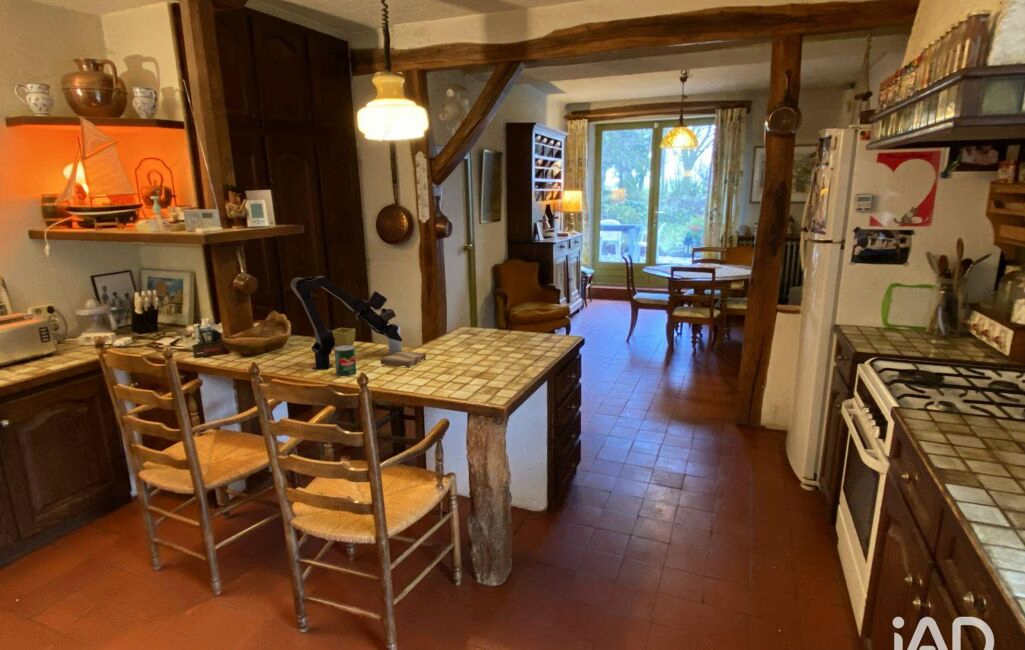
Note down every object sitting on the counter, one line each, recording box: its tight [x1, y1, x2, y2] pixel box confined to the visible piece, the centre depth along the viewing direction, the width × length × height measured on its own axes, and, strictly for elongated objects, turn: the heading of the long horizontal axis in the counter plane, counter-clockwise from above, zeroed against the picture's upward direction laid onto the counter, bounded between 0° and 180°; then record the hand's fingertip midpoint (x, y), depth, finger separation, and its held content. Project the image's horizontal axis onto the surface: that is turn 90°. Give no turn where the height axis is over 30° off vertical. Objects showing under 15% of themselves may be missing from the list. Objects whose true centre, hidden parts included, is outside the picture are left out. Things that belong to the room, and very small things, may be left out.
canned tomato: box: [333, 345, 357, 377], centre depth 230 cm, size 8×8×11 cm
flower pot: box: [331, 327, 356, 348], centre depth 268 cm, size 9×9×9 cm
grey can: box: [387, 323, 403, 354], centre depth 258 cm, size 6×6×14 cm
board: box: [380, 350, 427, 368], centre depth 247 cm, size 14×14×3 cm
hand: (397, 338), depth 259 cm, fingers open, 9 cm apart
